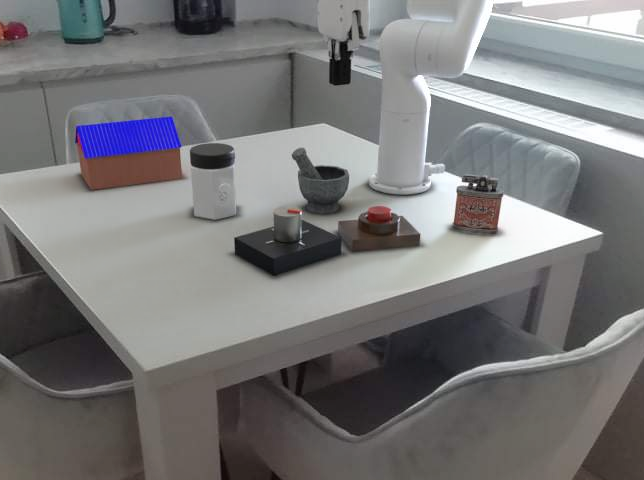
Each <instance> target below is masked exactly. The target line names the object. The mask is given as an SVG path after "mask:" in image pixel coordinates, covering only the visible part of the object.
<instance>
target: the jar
mask: <svg viewBox="0 0 644 480" xmlns="http://www.w3.org/2000/svg"><path fill="white" fill-rule="evenodd" d="M189 158H190V159H189V160H190V161H189V162H190V177H191V191H192V203H193V215H194V217H196V218H201V219H202V218H203V219H207V220H213V221H216V220H221V219H225V218H229V217H235V216H236V215H237V197H236V194H237V193H236V172H235V171H236V169H235V163H236V153H235V148H234V147H233V146H232V145H230V144H226V143H220V142H219V143H218V142H208V143H201V144H197V145H193V146H192V147H190V149H189Z"/></svg>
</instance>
